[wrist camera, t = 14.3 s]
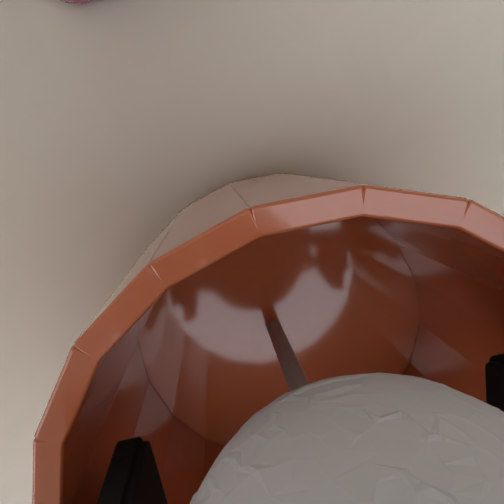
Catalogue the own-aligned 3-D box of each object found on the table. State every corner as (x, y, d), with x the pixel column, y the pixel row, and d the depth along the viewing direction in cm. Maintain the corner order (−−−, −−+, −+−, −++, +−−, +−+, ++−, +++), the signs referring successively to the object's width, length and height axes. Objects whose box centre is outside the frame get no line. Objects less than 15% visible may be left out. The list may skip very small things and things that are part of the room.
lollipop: (307, 421, 18) (682, 1361, 4) (165, 368, 17) (-71, 1490, 3) (379, 287, 18) (1240, 874, 3) (234, 220, 16) (482, 678, 2)
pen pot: (167, 481, 19) (126, 775, 10) (90, 208, 16) (-73, 269, 7) (433, 420, 20) (623, 640, 11) (410, 147, 17) (651, 128, 8)
